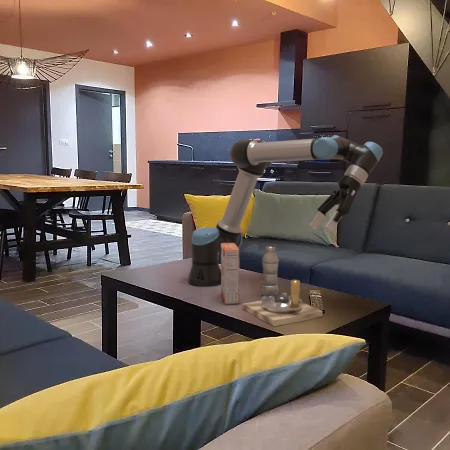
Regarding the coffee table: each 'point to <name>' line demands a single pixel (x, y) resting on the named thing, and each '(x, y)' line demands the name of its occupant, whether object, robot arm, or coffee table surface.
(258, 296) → the coffee table surface
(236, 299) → the cracker box
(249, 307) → the nut board
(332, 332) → the coffee table surface
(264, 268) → the plastic bottle
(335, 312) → the coffee table surface
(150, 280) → the coffee table surface
